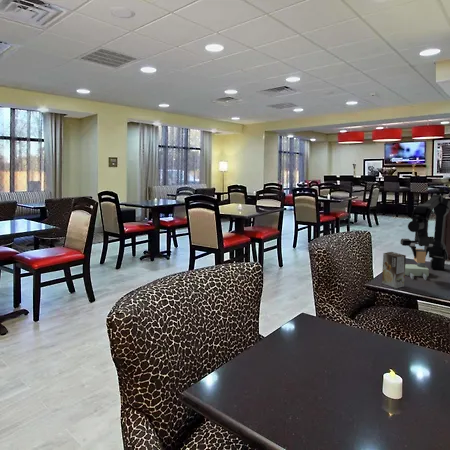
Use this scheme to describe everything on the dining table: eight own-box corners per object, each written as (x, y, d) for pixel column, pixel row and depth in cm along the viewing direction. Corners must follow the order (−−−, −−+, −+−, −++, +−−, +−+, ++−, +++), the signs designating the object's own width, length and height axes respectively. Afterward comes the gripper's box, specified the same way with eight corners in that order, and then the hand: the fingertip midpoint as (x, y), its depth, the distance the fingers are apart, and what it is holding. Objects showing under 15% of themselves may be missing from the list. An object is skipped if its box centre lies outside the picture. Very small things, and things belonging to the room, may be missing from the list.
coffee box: (404, 286, 193) (406, 255, 191) (395, 288, 191) (397, 256, 188) (390, 281, 202) (391, 251, 199) (381, 283, 199) (382, 252, 196)
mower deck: (424, 271, 218) (425, 260, 217) (432, 280, 202) (433, 268, 201) (401, 270, 220) (401, 259, 219) (407, 279, 205) (407, 267, 204)
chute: (421, 259, 208) (422, 247, 207) (425, 263, 201) (426, 250, 200) (413, 259, 209) (414, 247, 208) (416, 262, 202) (417, 249, 201)
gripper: (405, 231, 197) (403, 261, 199) (446, 232, 192) (443, 263, 195) (401, 228, 207) (399, 256, 210) (439, 228, 203) (437, 257, 206)
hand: (419, 258), depth 205 cm, fingers closed on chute, 4 cm apart
